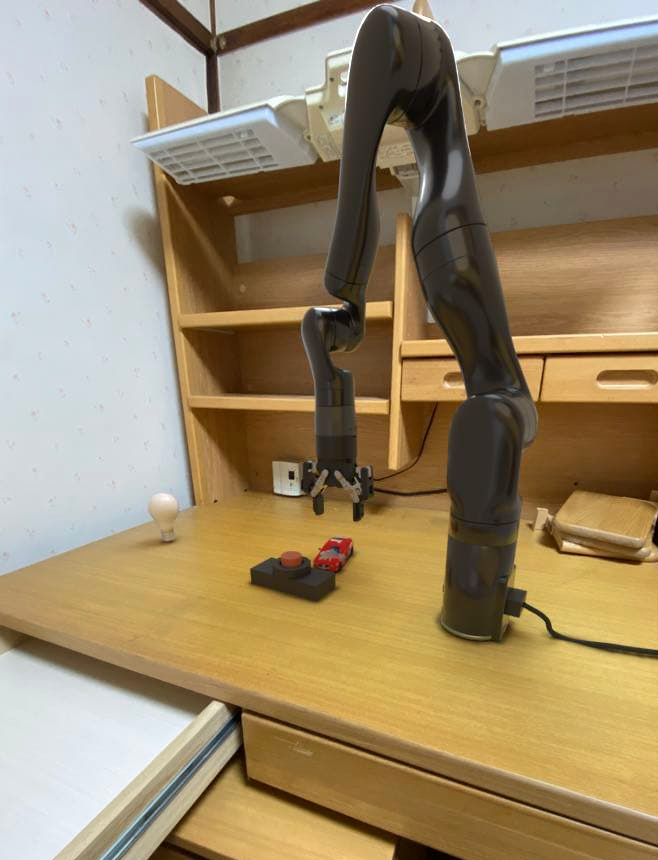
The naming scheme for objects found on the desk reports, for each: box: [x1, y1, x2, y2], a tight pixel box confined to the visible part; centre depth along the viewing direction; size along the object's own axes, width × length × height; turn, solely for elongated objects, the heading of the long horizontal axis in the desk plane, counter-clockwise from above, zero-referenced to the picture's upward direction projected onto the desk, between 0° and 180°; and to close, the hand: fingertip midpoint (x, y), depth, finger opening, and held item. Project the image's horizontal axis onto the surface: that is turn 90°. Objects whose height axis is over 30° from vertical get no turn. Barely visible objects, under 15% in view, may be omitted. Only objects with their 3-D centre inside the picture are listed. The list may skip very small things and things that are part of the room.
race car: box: [312, 536, 355, 573], centre depth 90 cm, size 13×5×4 cm, turn 161°
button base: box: [249, 555, 336, 603], centre depth 80 cm, size 14×6×4 cm, turn 59°
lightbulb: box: [147, 492, 180, 543], centre depth 100 cm, size 6×6×11 cm
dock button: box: [280, 550, 303, 567], centre depth 79 cm, size 4×4×2 cm
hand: (338, 517), depth 88 cm, fingers open, 8 cm apart
